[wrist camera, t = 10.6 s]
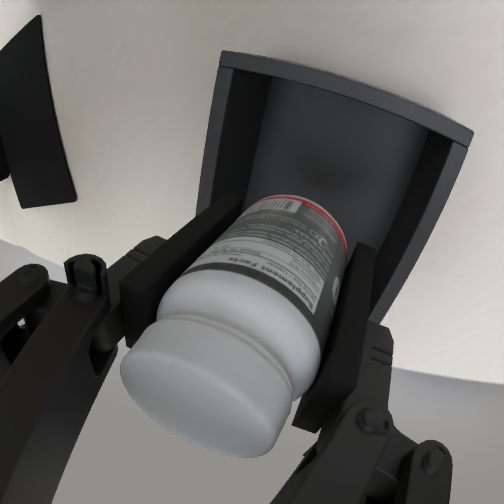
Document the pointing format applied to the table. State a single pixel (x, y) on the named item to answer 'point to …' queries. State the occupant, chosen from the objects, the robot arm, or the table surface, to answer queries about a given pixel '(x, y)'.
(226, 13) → the table surface
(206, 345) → the pill bottle
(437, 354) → the table surface
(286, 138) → the basket
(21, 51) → the table lamp
